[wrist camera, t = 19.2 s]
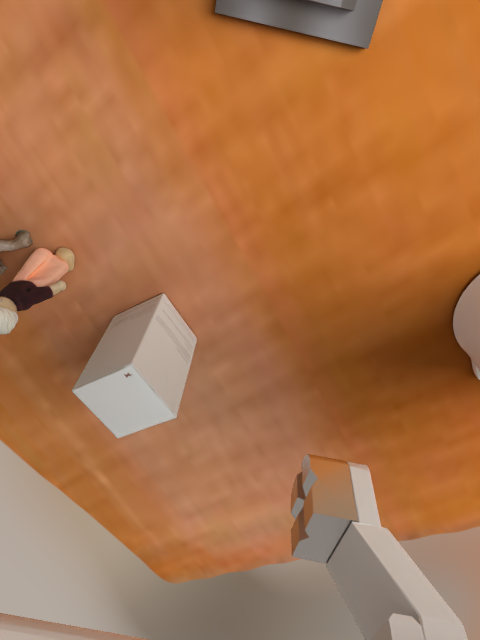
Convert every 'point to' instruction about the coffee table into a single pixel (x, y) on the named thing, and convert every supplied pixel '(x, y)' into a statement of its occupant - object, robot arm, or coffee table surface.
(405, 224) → the coffee table surface
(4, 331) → the grandmother figurine
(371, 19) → the tray
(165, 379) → the supplement box
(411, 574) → the robot arm
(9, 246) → the rhinoceros figurine
